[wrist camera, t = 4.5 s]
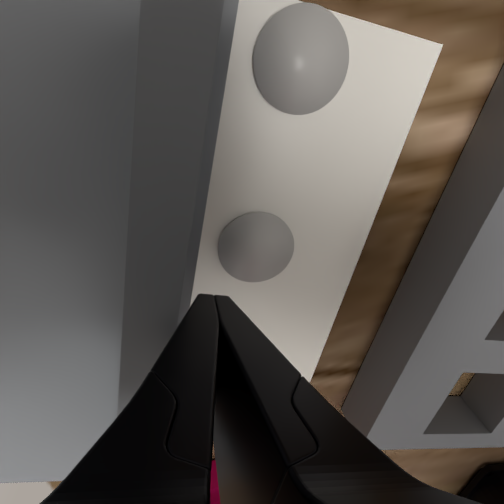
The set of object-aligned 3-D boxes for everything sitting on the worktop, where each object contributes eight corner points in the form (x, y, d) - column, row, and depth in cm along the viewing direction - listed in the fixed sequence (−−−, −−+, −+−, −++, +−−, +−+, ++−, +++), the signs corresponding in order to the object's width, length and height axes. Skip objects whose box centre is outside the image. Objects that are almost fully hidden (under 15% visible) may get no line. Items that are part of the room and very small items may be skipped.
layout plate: (302, 383, 18) (307, 395, 18) (127, 378, 16) (124, 392, 16) (431, 45, 12) (447, 44, 11) (157, -37, 9) (154, -46, 9)
